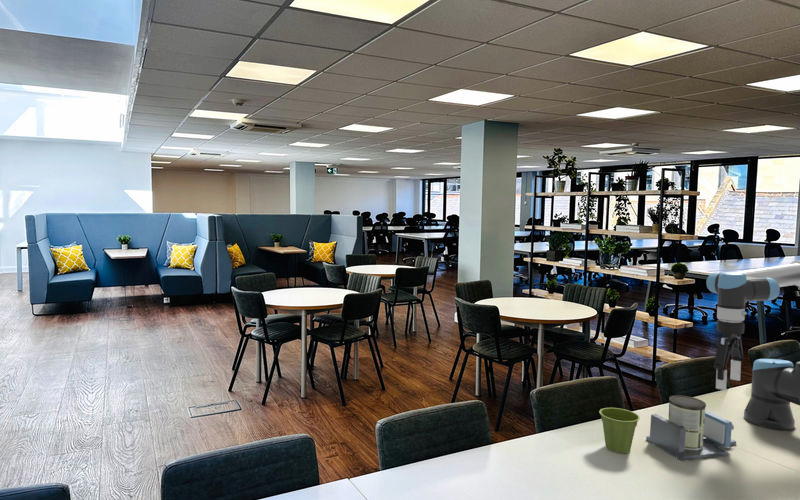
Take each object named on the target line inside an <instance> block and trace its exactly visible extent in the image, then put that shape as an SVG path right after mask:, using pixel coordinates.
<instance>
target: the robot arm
mask: <svg viewBox="0 0 800 500" xmlns="http://www.w3.org/2000/svg"><path fill="white" fill-rule="evenodd" d="M789 286H795V287H800V259H799V260H794V261H792V262H790V263H789V264H783V265H777V266H775V265H774V266H769V267H763V268H756V269H748V270H741V271H733V272H732V271H731V272H730V271H729V272H727V271H725V272H722V271H718V272H716V271H715V272H712V273H710V274H709V275H708V277H707V278H706V288H707V289H708V290H709V291H710V293H714V294H717V308H716V309H717V312H716V318H717V320H716V331H717V332H719V333H722V337H721V336H719V337H718V339H717V341H718V342H717V348H716V353H715V358H714V364H713V365H712V368H713V369H715V370H716V371H715V373H716V374H715V389H717V390H723V391H727V381H728V380H727V376H728V369H727V366H728V365H727V364H728V361H729V358H730V356H731V360H730V376H729V379H730V380H733V381H739V382H740V381H741V371H742V370H741V369H742V366H741V365H742V362H744V361H745V357H744V350H743V344H742V334H743V335H744V333H745V319H746V315H747V311H745V310H746V302H747V303H748V302H767V301H773V300H775V299H777V298H778V296H779V295H780V291H781V290H780V288H782V287H789ZM751 371H752V374H751V388H750V389H751V390H750V398H749V400H748V402H747V405H746V406H745V409H744V411H743V417H744V419H745V420H746V421H748V422H750V423H752V424H754V425H758V426H761V427H764V428H768V429H773V430H779V431H787V430H788V431H790V430H793V429H794V428H795V427H796V426H795V424H796V423H795V422H796V421H795V418H794V415H793V411H792V407H791V404H794V405H796V406H800V361H797V362H796V363H795V366H794V363H793V362H792V361H790V360H784V359H778V358H777V359H775V358H759V359H756V360H754V362H753V366H752V369H751Z"/></svg>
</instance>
